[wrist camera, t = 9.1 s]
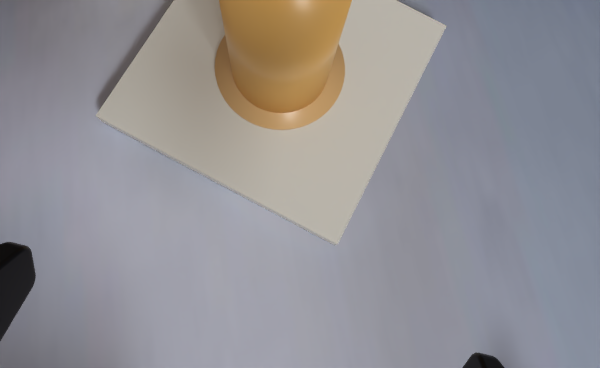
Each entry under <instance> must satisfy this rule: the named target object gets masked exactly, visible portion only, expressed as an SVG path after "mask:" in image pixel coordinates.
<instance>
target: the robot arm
mask: <svg viewBox="0 0 600 368" xmlns="http://www.w3.org/2000/svg"><path fill="white" fill-rule="evenodd" d="M35 276H36V275H35V269H34V263H33V257H32V252H31V249H30V248H29V247H28V246H25V245H21V244H17V243H12V242H6V243H2V244H0V341H1V339H2V337H3V336H4V334H5V332H6V331H7V329H8V327H9V326H10V324H11V322H12V321H13V319H14V317H15V316H16V314H17V312H18V311H19V309H20V307H21V306H22V304H23V302H24V301H25V299H26V297H27V295H28V294H29V292H30V290H31V289H32V287H33V285H34V282H35ZM463 368H504V367H503V365H502V364H501V363H500V361H499V360H498V359H497V358H495V357H493V356H490V355H486V354H482V353H474V354H472V355H471V357H470V358H469V359H468V361H467V362H466V364H465V365H464V366H463Z"/></svg>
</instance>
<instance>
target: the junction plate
mask: <svg viewBox="0 0 600 368" xmlns="http://www.w3.org/2000/svg"><path fill="white" fill-rule="evenodd" d="M445 28H446V25H444V24H442V23H440V22H438V21H436V20H434V19H432V18H430V17H428V16H426V15H424V14H422V13H420V12H418V11H416V10H414V9H412V8H411V7H409V6H407V5H405V4H403V3H401V2H399V1H397V0H352V2H351V5H350V8H349V12H348V15H347V18H346V21H345V25H344V28H343V31H342V34H341V37H340V41H339V44H338V47H337V50H336V54H335V57H334V60H333V63H332V66H331V70H330V73H329V76H328V79H327V82H326V85H325V87H324V89H323V91H322V93H321V94H320V95H319V97H318V98H317V99H316V100H315V101H314V102H312V103H311V104H310V105H308V106H306V107H305V108H303V109H300V110H298V111H294V112H289V113H274V112H269V111H265V110H263V109H260V108H258V107H256V106H254V105H253V104H251V103H250V102H249V101H248V100H247V99H245V98H244V96H243V95H242V94H241V93H240V91H239V90H238V88H237V86H236V84H235V82H234V79H233V75H232V69H231V64H230V58H229V53H228V47H227V42H226V37H225V31H224V26H223V20H222V15H221V9H220V4H219V0H174V1H173V2H172V4H171V5H170V7H169V8H168V9H167V11H166V12H165V14H164V15H163V17H162V18H161V20H160V21H159V23H158V24H157V26H156V27H155V29H154V30H153V32H152V33H151V35H150V36H149V38H148V39H147V40H146V42H145V43H144V45H143V46H142V48H141V49H140V51H139V52H138V54H137V55H136V57H135V58H134V60H133V61H132V63H131V64H130V66H129V67H128V69H127V70H126V71H125V73H124V74H123V76H122V77H121V79H120V80H119V82H118V83H117V85H116V86H115V88H114V89H113V91H112V92H111V94H110V95H109V97H108V98H107V100H106V101H105V102H104V104H103V105H102V107H101V108H100V110H99V111H98V113H97V114H96V117H98V118H99V119H100V120H101V121H102V122H103V123H105V124H107V125H109V126H111V127H113V128H115V129H117V130H118V131H120V132H122V133H124V134H126V135H128V136H130V137H132V138H133V139H135V140H137V141H139V142H141V143H143V144H145V145H147V146H149V147H150V148H152V149H154V150H156V151H158V152H160V153H162V154H164V155H165V156H167V157H169V158H171V159H173V160H175V161H177V162H179V163H180V164H182V165H184V166H186V167H188V168H190V169H192V170H194V171H195V172H197V173H199V174H201V175H203V176H205V177H207V178H209V179H211V180H212V181H214V182H216V183H218V184H220V185H222V186H224V187H226V188H227V189H229V190H231V191H233V192H235V193H237V194H239V195H241V196H242V197H244V198H246V199H248V200H250V201H252V202H254V203H256V204H258V205H259V206H261V207H263V208H265V209H267V210H269V211H271V212H273V213H274V214H276V215H278V216H280V217H282V218H284V219H286V220H288V221H289V222H291V223H293V224H295V225H297V226H299V227H301V228H303V229H305V230H306V231H308V232H310V233H312V234H314V235H316V236H318V237H320V238H321V239H323V240H325V241H327V242H329V243H331V244H333V245H337V244H338V243H339V241H340V239H341V237H342V235H343V233H344V231H345V229H346V227H347V225H348V223H349V220H350V218H351V216H352V214H353V212H354V210H355V208H356V206H357V204H358V202H359V200H360V198H361V196H362V194H363V192H364V190H365V188H366V186H367V184H368V182H369V180H370V178H371V176H372V174H373V172H374V170H375V168H376V166H377V164H378V162H379V160H380V158H381V156H382V154H383V152H384V150H385V148H386V146H387V144H388V142H389V140H390V138H391V136H392V134H393V132H394V130H395V128H396V126H397V124H398V122H399V120H400V118H401V116H402V114H403V112H404V110H405V108H406V106H407V104H408V102H409V100H410V98H411V96H412V94H413V92H414V90H415V88H416V86H417V84H418V82H419V80H420V78H421V76H422V74H423V72H424V70H425V68H426V66H427V64H428V62H429V60H430V58H431V56H432V54H433V52H434V50H435V48H436V46H437V44H438V42H439V40H440V38H441V36H442V34H443V32H444V30H445Z"/></svg>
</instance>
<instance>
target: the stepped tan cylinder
mask: <svg viewBox="0 0 600 368" xmlns="http://www.w3.org/2000/svg"><path fill="white" fill-rule="evenodd" d="M351 2H352V0H219V4H220V9H221V15H222V20H223V26H224V31H225V37H226V42H227V47H228V53H229V58H230V64H231V69H232V75H233V79H234V82H235V84H236V86H237V88H238V90H239V91H240V93H241V94H242V95H243V96H244V98H245V99H247V100H248V101H249V102H250V103H251V104H253V105H254V106H256V107H258V108H260V109H263V110H265V111H269V112H274V113H289V112H294V111H298V110H300V109H303V108H305V107H306V106H308V105H310V104H311V103H312V102H314V101H315V100H316V99H317V98H318V97H319V95H320V94H321V93H322V91H323V89H324V87H325V85H326V82H327V79H328V76H329V73H330V70H331V66H332V63H333V60H334V57H335V54H336V50H337V47H338V44H339V41H340V37H341V34H342V31H343V28H344V25H345V21H346V18H347V15H348V12H349V8H350V5H351Z"/></svg>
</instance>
